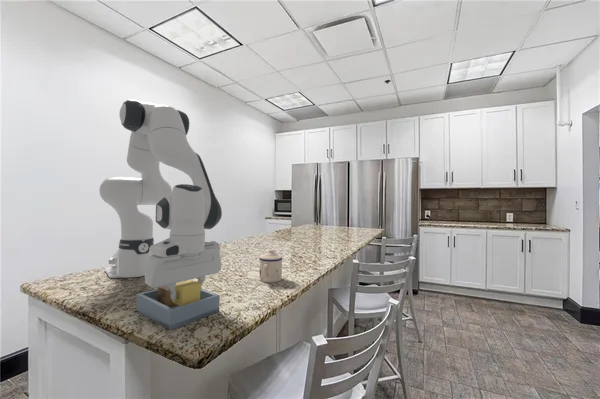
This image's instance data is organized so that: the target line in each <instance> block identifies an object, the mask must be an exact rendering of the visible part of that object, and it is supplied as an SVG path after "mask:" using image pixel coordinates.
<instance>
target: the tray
mask: <svg viewBox="0 0 600 399" xmlns="http://www.w3.org/2000/svg"><path fill="white" fill-rule="evenodd" d="M220 296H221V295H220V294H217V293H214V292H211V291H209V290H206V289H204V288H201V292H200V300H198V301H195V302H192V303H189V304H186V305H183V306H179V305H177V306H173V307H168V306H166V305H164V304H162V303H160V302H158V288H154V289H152V290H148V291H144V292H139V293H136V311H137V312H138V311H139V312H138V313H140V312H141V313H140V314H142V315H144V316H145V315H146V316H145V317H147V316H148V317H147V318H149V319H150V318H151V319H150V320H152V321H154V322H155V321H156V323H157V324H159V325H161V326H163V327H164V328H166V329H168V330H169V331H172V330H174V329H177V328H180V327H182V326H184V325H187V324H189V323H193V322H195V321H198V320H201V319H202V318H203V319H204V318H205V317H208V316H211V315H213V314H214V315H215V314H216V313H219V312H220Z"/></svg>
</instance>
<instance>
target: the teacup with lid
mask: <svg viewBox="0 0 600 399" xmlns="http://www.w3.org/2000/svg"><path fill="white" fill-rule="evenodd" d="M258 259H259V276H258V277H259V281H261V283H262V282H263V283H270V284H271V283H278V282H280V281H281V280H282V278H283V277H282V272H283V271H282V270H283V268H282V266H283V256H282V255H280V254H278V253H276V252H274V249H268V252H265V253H263V254H261V255H260V256H259V258H258Z"/></svg>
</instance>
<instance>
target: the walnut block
mask: <svg viewBox="0 0 600 399" xmlns="http://www.w3.org/2000/svg"><path fill="white" fill-rule="evenodd" d="M157 289H158V302H160V303H162V304H164V305H166V306H168V307H173V306H177V304H175V303H173V300H171V292H170V291H169V290H168V288H167V287H166V285H165V286H161V287H157Z"/></svg>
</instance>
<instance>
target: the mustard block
mask: <svg viewBox="0 0 600 399" xmlns="http://www.w3.org/2000/svg"><path fill="white" fill-rule="evenodd" d="M174 289H175V291H177V292H179V299H176V300H173V303H175V304H177V305H179V306H183V305H186V304H189V303H192V302H195V301H198V300H200V283H199V282H197V281H196V280H193V279H190V280H186V281H182V282H178V283H176V287H174Z"/></svg>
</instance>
